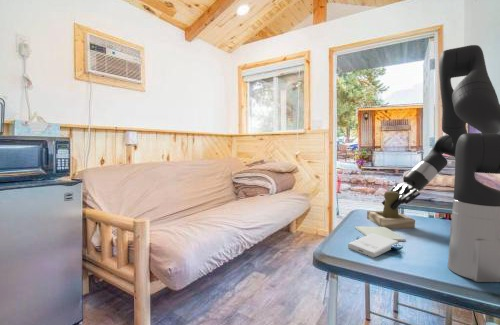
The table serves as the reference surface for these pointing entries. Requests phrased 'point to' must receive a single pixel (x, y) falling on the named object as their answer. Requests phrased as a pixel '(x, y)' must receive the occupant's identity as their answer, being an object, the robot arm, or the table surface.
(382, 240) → the external hard drive
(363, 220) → the table surface
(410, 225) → the holder
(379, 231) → the mat
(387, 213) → the cork
